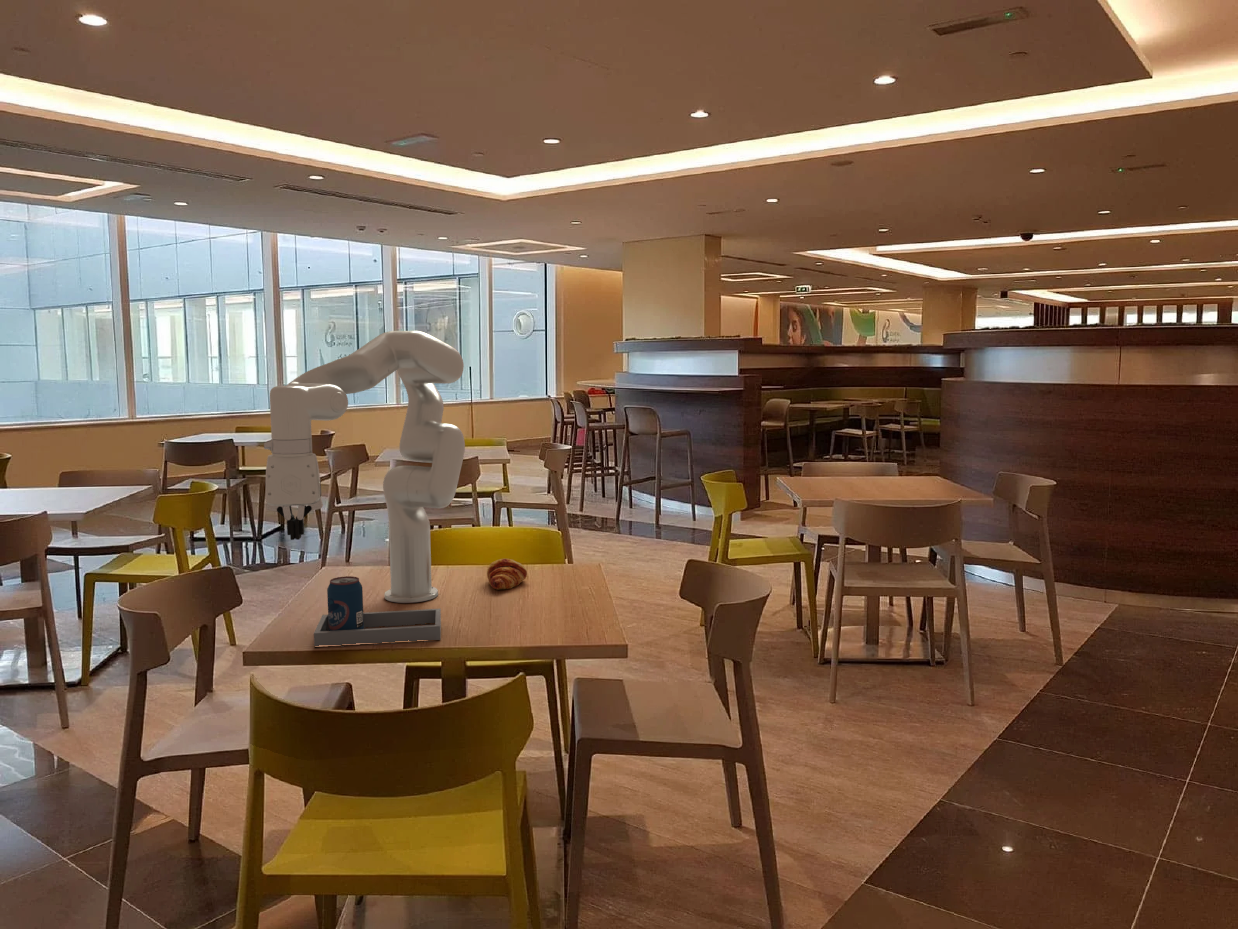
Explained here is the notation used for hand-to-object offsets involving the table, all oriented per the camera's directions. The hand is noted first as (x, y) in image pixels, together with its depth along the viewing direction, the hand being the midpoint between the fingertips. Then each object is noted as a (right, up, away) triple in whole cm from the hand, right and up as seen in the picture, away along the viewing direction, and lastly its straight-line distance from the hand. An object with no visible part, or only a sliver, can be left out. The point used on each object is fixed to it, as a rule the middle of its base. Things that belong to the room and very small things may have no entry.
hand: (296, 538), depth 179 cm
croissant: (+37, -16, +48) cm, 63 cm away
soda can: (+9, -21, +4) cm, 23 cm away
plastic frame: (+16, -20, +6) cm, 26 cm away
